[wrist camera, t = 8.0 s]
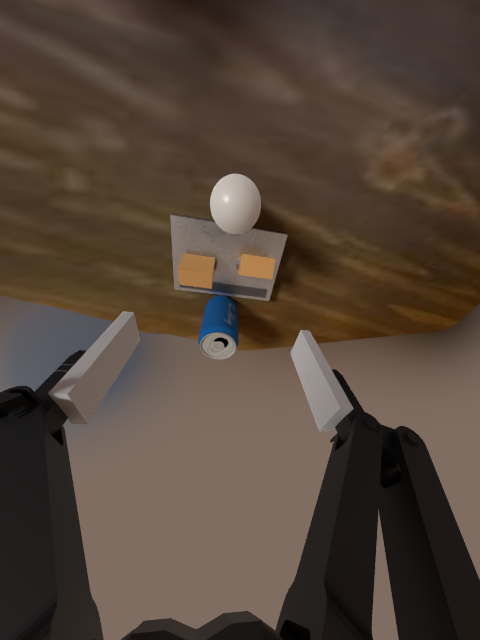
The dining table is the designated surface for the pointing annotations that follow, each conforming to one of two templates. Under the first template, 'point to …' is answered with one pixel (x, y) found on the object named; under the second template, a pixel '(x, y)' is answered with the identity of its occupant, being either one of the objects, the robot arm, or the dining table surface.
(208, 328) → the beverage can
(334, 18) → the dining table surface
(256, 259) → the paddle
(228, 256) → the breaker plate
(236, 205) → the white rounded smooth part
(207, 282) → the paddle
